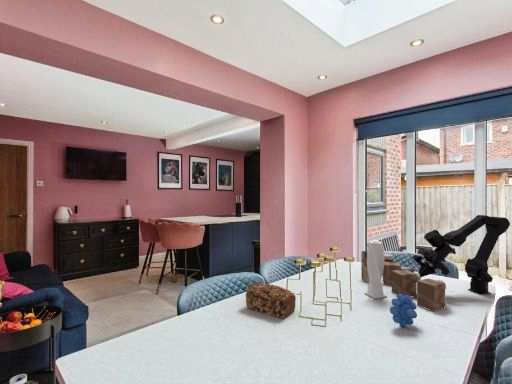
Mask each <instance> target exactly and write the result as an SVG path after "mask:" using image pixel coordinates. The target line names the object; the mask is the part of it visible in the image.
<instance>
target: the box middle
mask: <svg viewBox="0 0 512 384" xmlns="http://www.w3.org/2000/svg"><path fill="white" fill-rule="evenodd" d="M391 293H393V294H395V295H396V296H397V295H398V294H402V295H404V296H406V295H408V296H410V297H411V298H412V296H417V274H415V273H413V272H410V271H408V270H392V285H391Z"/></svg>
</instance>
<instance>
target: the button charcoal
mask: <svg viewBox="0 0 512 384" xmlns="http://www.w3.org/2000/svg"><path fill="white" fill-rule="evenodd" d="M401 270H408V271H410V272H413V273H414V272H415V267H414V265H410V266H409V267H407V266H401Z"/></svg>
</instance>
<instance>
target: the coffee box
mask: <svg viewBox="0 0 512 384" xmlns="http://www.w3.org/2000/svg"><path fill="white" fill-rule="evenodd" d="M367 251H368V250H363V251H362V250H361V251H360V252H361V253H360V255H361V259H360V260H361V261H360V262H361V265H360V267H361V271H360V272H361V280H362V281H363V282H366V283H368V284H369V280H370V279H369V275H368V269H367Z"/></svg>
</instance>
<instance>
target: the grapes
mask: <svg viewBox="0 0 512 384" xmlns="http://www.w3.org/2000/svg"><path fill="white" fill-rule="evenodd" d="M390 303H391V305H392V306H390V308H389V313H390V314H391V315H392V321H393V322H394V323H395V324H398V325H399V326H400V327H402V328H406V327H407V326H412V325H413V324H414V320H413V319H417V317H418V314H417V311H415V310H417V308H418V307H417V306H418V305H417V304H416V303H415V302H414V301H413V299H412V297H410V296H408V295H406V296H404V295H402V294H398V295H396V298H395V297H394V298H392V299H391V302H390Z"/></svg>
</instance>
